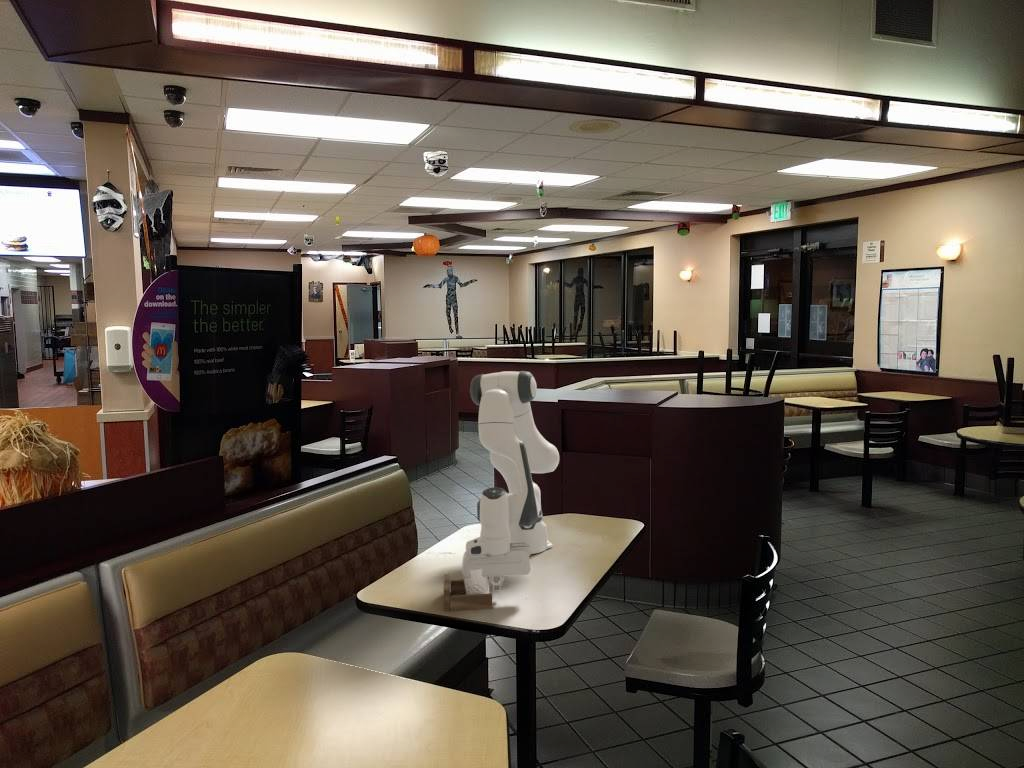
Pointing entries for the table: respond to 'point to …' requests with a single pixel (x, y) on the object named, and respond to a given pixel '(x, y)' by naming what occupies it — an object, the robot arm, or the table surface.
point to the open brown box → (463, 597)
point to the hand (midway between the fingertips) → (496, 590)
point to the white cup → (476, 583)
